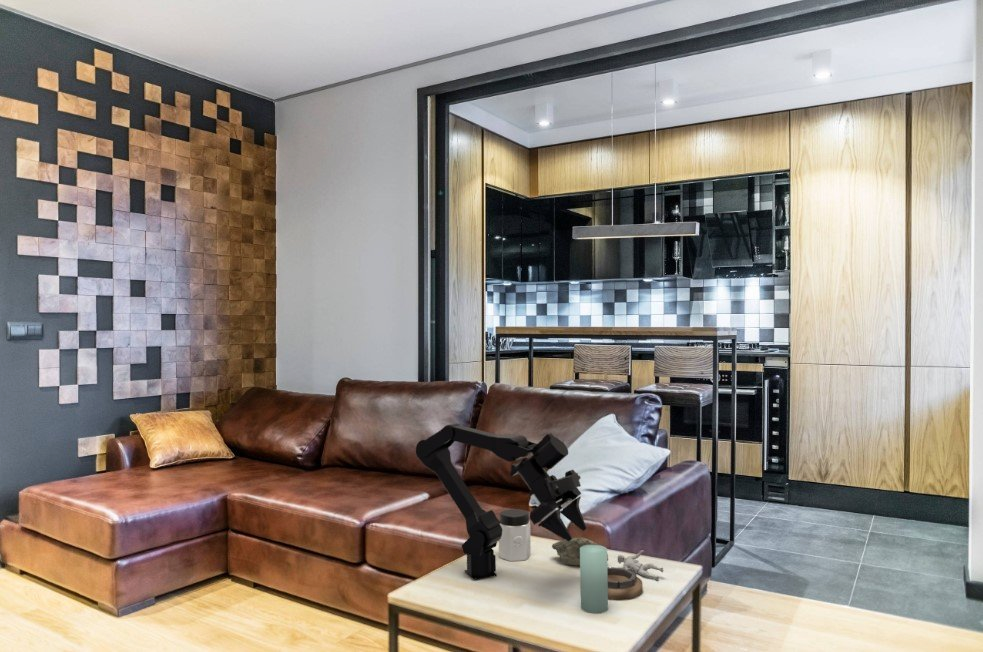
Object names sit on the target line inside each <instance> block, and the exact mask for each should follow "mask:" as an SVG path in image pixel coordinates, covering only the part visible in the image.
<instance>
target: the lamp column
mask: <svg viewBox="0 0 983 652" xmlns="http://www.w3.org/2000/svg"><path fill="white" fill-rule="evenodd" d="M607 554H608V548H607V547H606V546H604V545H601V544H598V545H585V546H582V547H580V565H579V572H580V573H579V574H580V575H579V576H580V580H579V581H580V582H579V583H580V584H579V585H580V587H579V588H580V610H582V611H584V612H587V613H590V614H602V613H605V612H607V611H608V610H609V600H608V574H607V567H608V561H607Z"/></svg>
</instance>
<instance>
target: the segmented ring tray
mask: <svg viewBox="0 0 983 652" xmlns="http://www.w3.org/2000/svg"><path fill="white" fill-rule="evenodd" d="M628 569H629V568H628ZM628 569H626V570H625V569H624V567H613V566H611V567H609V566H607V574H608V601H628V600H634V599H636V598H638V597H640V596H641V595H642V594H643V592H642V591H643V581H642V579H641V578H639V577H638V576H637V575H638V574H637V573H636V572H635V571H632V570H630V569H629V570H628Z"/></svg>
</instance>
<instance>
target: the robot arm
mask: <svg viewBox="0 0 983 652" xmlns="http://www.w3.org/2000/svg"><path fill="white" fill-rule="evenodd" d="M455 442H457V443H461V444H465V445H468V446H471V447H476V448H479V449H483V450H486V451H489V452H491V453H493V455H494V456H495V457H498V458H499V459H502V460H504V461H506V462H515V461H517V460H520V461H519V462H518V463H513V464H511V465H510V473H509V477H514V476H517V475H519V476H520V477H521V479H522V480H523V482H524V483H525V485H526V486H527V487H528V489H529V491H528V494H529V495H530V496H531V497H532V496H535V498H536V500H537V501H538V502H539V503H540V504H538V506H537V507H535V508H534V509H533V510H532V511H530V512H529V521H530V522H531V523H532V525H534V526H535V525H537V526H538V527H539V528H540V527H542V528H544V529H545V530H548V531H550V532H551V533H553V534H555V535H557V536H559V537H560V538H562V539H563V540H567V541H570V540H571V539H572V538H573V537H572V535H571V534H570V531H569V530H568V527H567V526H566V525H565V523H564V521H563V519H562V518H561V515H563V516H564V517H565V518H566V519H567V520H569V521H570V522H571V523H572V524H573V525H575V526H576V527H577V528H578V529H580V530H582V531H583V532H584V531H586V530H587V525H586V523H585V520H584V516H583V514H582V512H581V508H580V500H581V497H582V496H581V495H582V492H581V491H580V489H579V488H580V487H581V482H580V480H581V475H579V473H578V472H576V471H575V470H574V469H570V470H567V471H566V472H565V474H564V476H562V477H560V478H557V476H556V475H553V474H552V475H550V474H549V473H548V472H547V470H546V469H549V470H551V469H553V468H554V467H555V466H556V465H558V464H559V463H560V462H561V461H562V460H563V459H565V458H566V457H567V456H568V455H569V449H568V447H567V446H566V444H565V442H564V441H561V440H560V438H558V437H556V436H555V435H553V433H552V432H550V433H547V434H545V436H543V438H542V439H541V440H540V441H539V442H538V443H537V442H534V441H530V440H528V437H526V436H524V435H521V434H509V433H508V434H496V433H492V432H488V431H484V430H481V429H476V428H473V427H468V426H465V425H462V424H459V423H450V424H447V425H444V427H442V428H441V429H440V430H438V431H437V432H435V433H434V434H432V435H431V436H428V437H427V438H424V439H421V440H419V441H418V443H416V446H415V455H416V458H417V459H418V460H419V461H420V462H421V463H422V464H423V466H424V467H425V468H427V469H429V470H430V471H432V472H434V473H435V474H436V476H437V477H438V479H439V480H440V482H441V484H442V485H443V486H444V488H445V489H446V491H447V493H448V494H449V496H450V498H451V500H452V501H453V502H454V504H455V506H456V507H457V508H458V510H459V512H460V513H461V515H462V517H463V518H464V520H465V525H466V532H467V534H468V538H467V539H466V541H465V542H463V543H462V544H461V548H462V552H463V554H465V555H466V569H465V570H464V574H466V575H467V576H468V577H469V578H470V579H471V580H473V581H477V580H481V579H482V580H483V579H488V578H494V577H497V575H498V574H497V573H496V566H497V563H496V560H497V559H496V556H497V555H495V554H494V552H495V551H494V549H493V548H497V547H496V546H497V545H498V543H499V540H500V539H501V536H502V531H503V530H502V527H501V525H500V523H501V522H500V519H498V517H497V515H496V514H495V512H494V510H493V509H490V510H488V511H486V510H484V509H483V508H482V507H481V506H480V504H479V503H478V501H477V499H476V498H475V497H474V495H473V494H472V492H471V491H470V489H469V487H468V486H467V485H466V483H465V482H464V480H463V478H462V477H461V475H460V474H459V472H458V471H457V469H456V468H455V467H454V465H453V463H452V457H451V451H450V449H449V448H451V446H452V445H454V444H455ZM530 455H532V456H531V457H529V458H528V457H527V456H530ZM578 487H579V488H578Z"/></svg>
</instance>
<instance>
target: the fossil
mask: <svg viewBox="0 0 983 652" xmlns="http://www.w3.org/2000/svg"><path fill="white" fill-rule="evenodd" d="M585 545H599V544H598V543H596V542H594V541H593V540H590V539H588V538H585V537H572V539H571V540H570V541H567V540H565V539H562V540H559V541H557V542H554V543H552V544H551V548H552V549H553V550H555V551H556V554H557V555H558V556H559V558H560V561H562V562H563V563H565V564H567V565H568V566H580V547H582V546H585ZM608 561H609V554H608V553H607V562H608Z"/></svg>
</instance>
